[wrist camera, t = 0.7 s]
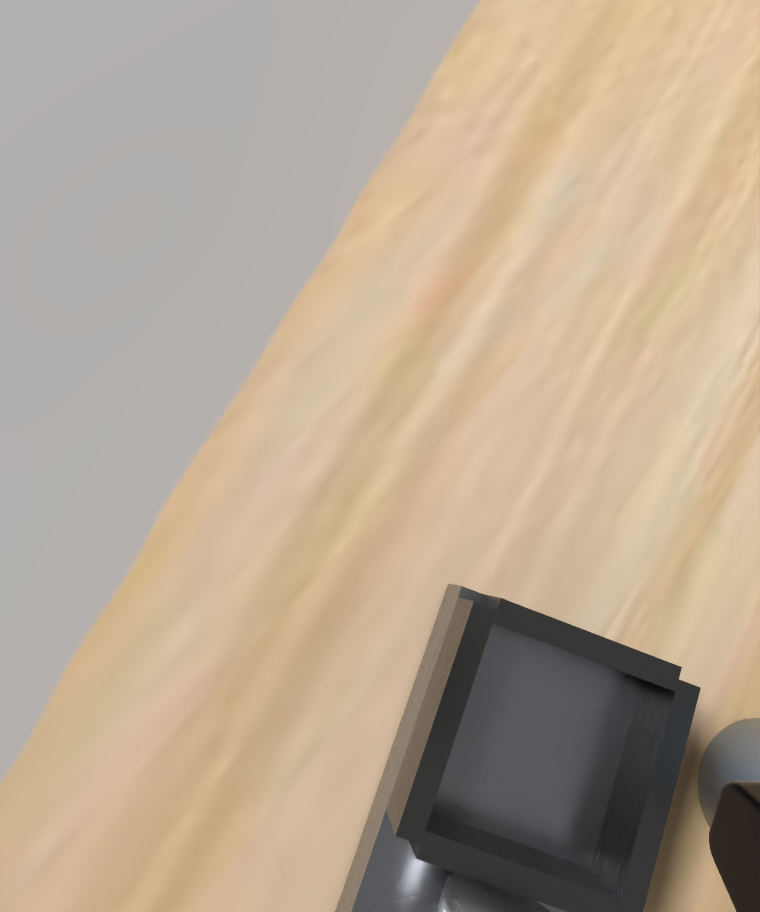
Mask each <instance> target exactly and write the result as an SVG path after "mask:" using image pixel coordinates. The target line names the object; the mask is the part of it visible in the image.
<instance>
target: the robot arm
mask: <svg viewBox="0 0 760 912" xmlns="http://www.w3.org/2000/svg"><path fill="white" fill-rule="evenodd" d="M709 844H710V850H711V854H712V856H713V859H714V861H715V864H716V866H717V868H718V871H719V873H720V875H721V877H722V880H723V882H724V884H725V886H726V889H727V891H728V893H729V895H730V898H731V900H732V902H733V905H734V907H735V909H736V911H737V912H760V782H756V781H731V782H728V783H727V784H726V785H725V786H724V787H723V788H722V790H721V793H720V797H719V800H718V804H717V807H716V811H715V814H714V818H713V821H712V825H711V828H710V833H709Z"/></svg>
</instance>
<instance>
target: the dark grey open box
mask: <svg viewBox="0 0 760 912" xmlns="http://www.w3.org/2000/svg"><path fill="white" fill-rule="evenodd" d="M681 668H682V667H680V666H677V665H674V664H672V663H669V662H667V661H664V660H661V659H659V658H656V657H654V656H651V655H648V654H646V653H643V652H640V651H638V650H635V649H633V648H630V647H627V646H625V645H622V644H620V643H617V642H614V641H612V640H609V639H606V638H604V637H601V636H599V635H596V634H593V633H591V632H588V631H586V630H583V629H580V628H578V627H575V626H572V625H570V624H567V623H565V622H562V621H559V620H557V619H554V618H552V617H549V616H546V615H544V614H541V613H538V612H536V611H533V610H531V609H528V608H525V607H523V606H520V605H518V604H515V603H512V602H510V601H507V600H504V599H502V598H498V597H493V596H488V595H484V594H481V593H478V592H476V591H473V590H470V589H468V588H465V587H462V586H458V585H453V584H448V586H447V589H446V592H445V595H444V598H443V601H442V604H441V606H440V609H439V612H438V615H437V618H436V621H435V624H434V627H433V630H432V633H431V636H430V638H429V641H428V644H427V647H426V650H425V653H424V656H423V659H422V662H421V665H420V668H419V670H418V673H417V676H416V679H415V682H414V685H413V688H412V691H411V694H410V697H409V700H408V703H407V705H406V708H405V711H404V714H403V717H402V720H401V723H400V726H399V729H398V732H397V735H396V737H395V740H394V743H393V746H392V749H391V752H390V755H389V758H388V761H387V764H386V767H385V769H384V772H383V775H382V778H381V781H380V784H379V787H378V790H377V793H376V796H375V799H374V802H373V804H372V807H371V810H370V813H369V816H368V819H367V822H366V825H365V828H364V831H363V834H362V836H361V839H360V842H359V845H358V848H357V851H356V854H355V857H354V860H353V863H352V866H351V869H350V871H349V874H348V877H347V880H346V883H345V886H344V889H343V892H342V895H341V898H340V901H339V903H338V906H337V909H336V912H643V908H644V904H645V900H646V896H647V892H648V889H649V885H650V881H651V877H652V873H653V869H654V866H655V862H656V858H657V854H658V850H659V846H660V842H661V839H662V835H663V831H664V827H665V823H666V819H667V815H668V812H669V808H670V804H671V800H672V796H673V792H674V788H675V785H676V781H677V777H678V773H679V769H680V765H681V761H682V758H683V754H684V750H685V746H686V742H687V738H688V734H689V731H690V727H691V723H692V719H693V715H694V711H695V707H696V704H697V700H698V696H699V692H700V687H697V686H694V685H692V684H689V683H687V682H684V681H681V680H679V675H680V672H681Z"/></svg>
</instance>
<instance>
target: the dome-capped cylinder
mask: <svg viewBox="0 0 760 912" xmlns="http://www.w3.org/2000/svg"><path fill="white" fill-rule="evenodd" d="M731 781H756V782H760V719H759V718H751V719H744V720H741V721H737V722H735V723H733V724H731V725H729V726H727V727H726V728H724V729H723V730H722V731H721V732H719V733H718V734H717V735H716V736H715V738H714V739H713V740H712V741H711V743H710V744H709V746H708V747H707V749H706V751H705V754H704V756H703V758H702V762H701V765H700V770H699V777H698V792H699V799H700V803H701V807H702V811H703V813H704V816H705V818H706V820H707V822H708V824H709V825H710V827H711V825H712V821H713V818H714V814H715V811H716V807H717V804H718V800H719V797H720V793H721V790H722V788H723V787H724V786H725V785H726V784H727V783H728V782H731Z"/></svg>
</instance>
